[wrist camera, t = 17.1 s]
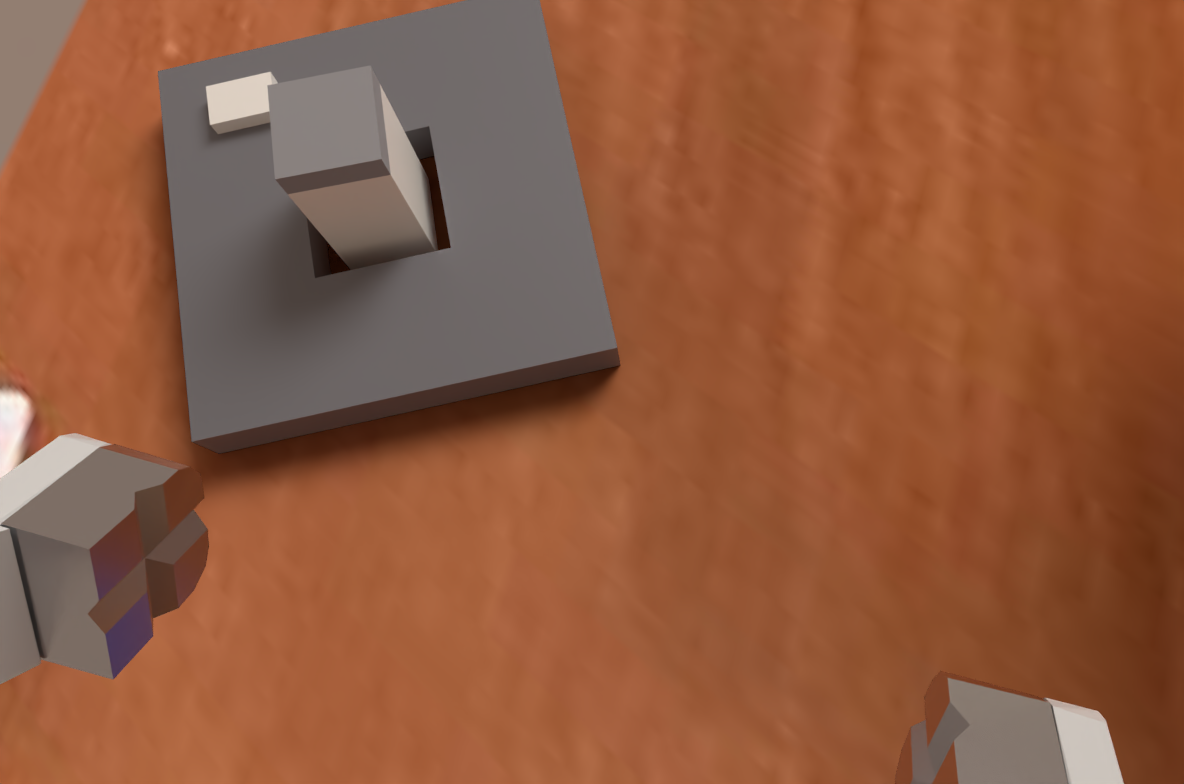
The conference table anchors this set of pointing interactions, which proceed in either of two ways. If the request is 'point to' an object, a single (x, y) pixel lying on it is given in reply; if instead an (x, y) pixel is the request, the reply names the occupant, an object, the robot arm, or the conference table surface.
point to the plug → (351, 167)
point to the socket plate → (396, 288)
